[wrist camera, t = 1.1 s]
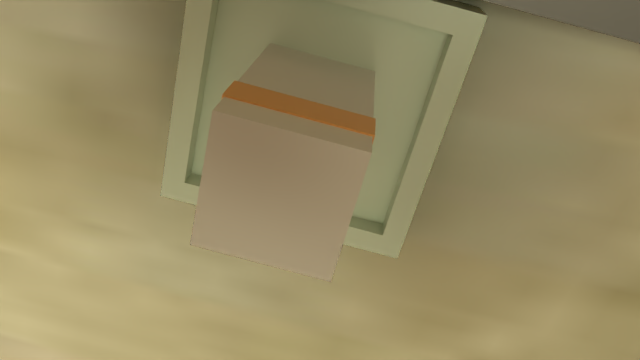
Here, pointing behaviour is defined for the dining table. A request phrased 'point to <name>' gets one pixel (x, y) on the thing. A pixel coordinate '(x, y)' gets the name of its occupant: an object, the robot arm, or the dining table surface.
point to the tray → (347, 47)
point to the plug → (286, 162)
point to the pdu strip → (587, 14)
